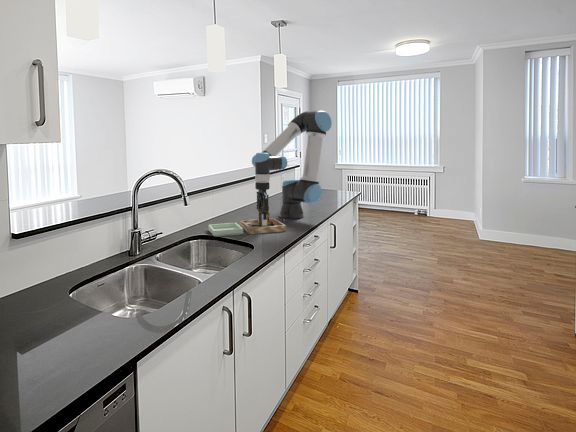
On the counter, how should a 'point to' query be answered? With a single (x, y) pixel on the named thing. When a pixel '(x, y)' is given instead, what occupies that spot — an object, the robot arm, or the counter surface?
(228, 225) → the green tray
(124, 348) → the counter surface
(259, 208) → the condiment
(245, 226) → the brown wooden tray
